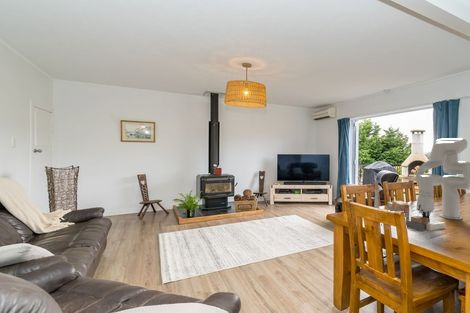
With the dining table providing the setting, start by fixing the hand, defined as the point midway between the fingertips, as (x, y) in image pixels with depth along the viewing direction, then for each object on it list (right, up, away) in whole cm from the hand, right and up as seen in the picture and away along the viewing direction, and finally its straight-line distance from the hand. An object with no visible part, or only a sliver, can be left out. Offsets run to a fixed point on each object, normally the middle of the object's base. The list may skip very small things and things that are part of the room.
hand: (425, 221), depth 154 cm
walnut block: (-6, -4, -2) cm, 7 cm away
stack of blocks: (-2, -4, +24) cm, 24 cm away
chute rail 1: (+1, -4, +5) cm, 6 cm away
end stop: (-10, -4, -3) cm, 11 cm away
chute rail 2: (+4, -4, -4) cm, 6 cm away
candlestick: (-26, -4, +11) cm, 28 cm away
